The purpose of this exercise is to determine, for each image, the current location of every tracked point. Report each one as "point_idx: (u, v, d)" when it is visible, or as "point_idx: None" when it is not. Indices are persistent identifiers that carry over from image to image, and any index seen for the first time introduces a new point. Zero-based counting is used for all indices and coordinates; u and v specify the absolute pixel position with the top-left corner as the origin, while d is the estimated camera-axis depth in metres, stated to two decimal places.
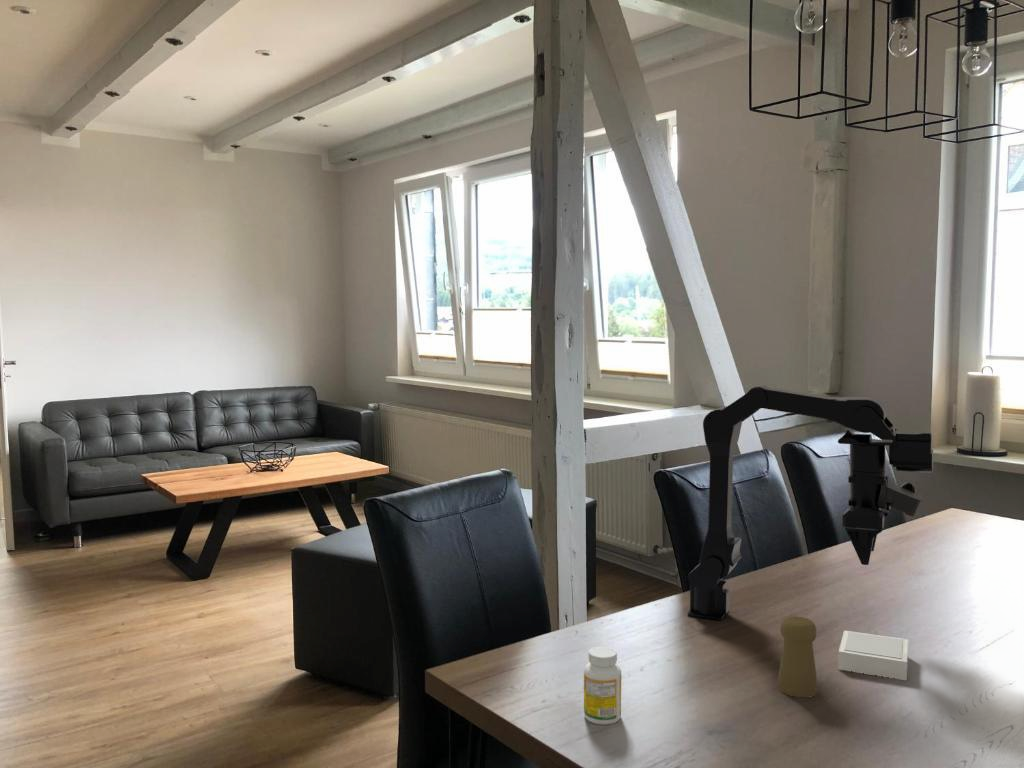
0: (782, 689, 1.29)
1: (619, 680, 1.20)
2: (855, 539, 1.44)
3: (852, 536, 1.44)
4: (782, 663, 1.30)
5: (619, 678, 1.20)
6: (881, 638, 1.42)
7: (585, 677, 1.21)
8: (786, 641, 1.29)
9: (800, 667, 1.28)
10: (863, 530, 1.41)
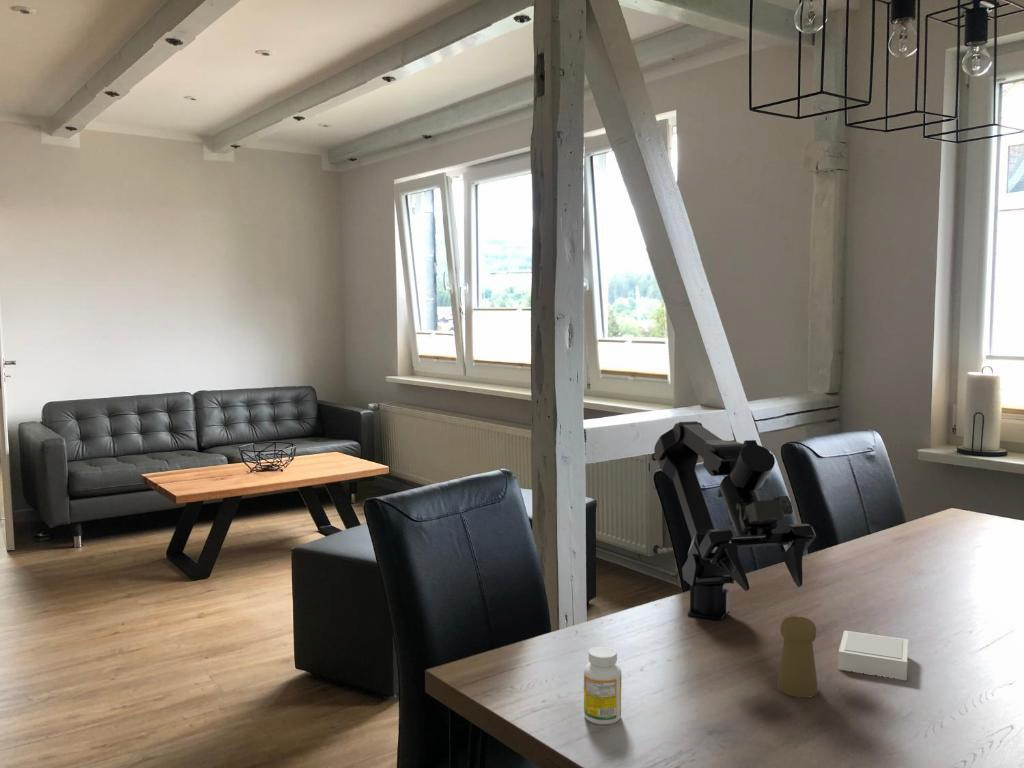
0: (782, 689, 1.29)
1: (619, 680, 1.20)
2: (727, 568, 1.40)
3: (724, 567, 1.40)
4: (782, 663, 1.30)
5: (619, 678, 1.20)
6: (881, 638, 1.42)
7: (585, 677, 1.21)
8: (786, 641, 1.29)
9: (800, 667, 1.28)
10: (715, 553, 1.40)
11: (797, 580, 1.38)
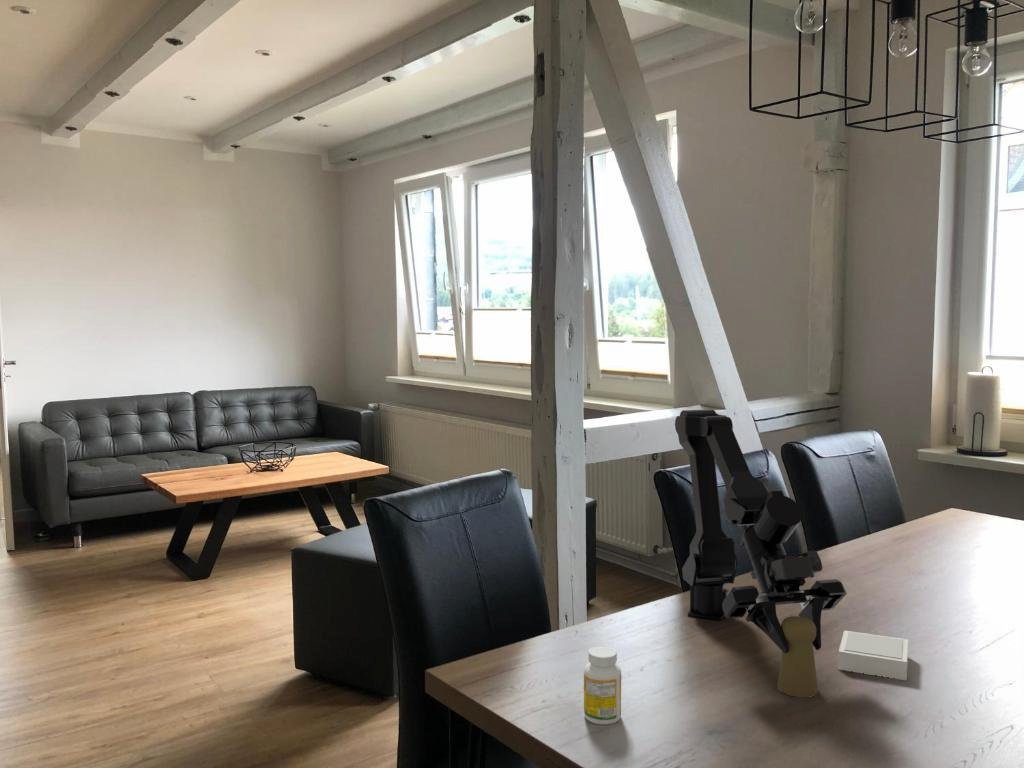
0: (782, 689, 1.29)
1: (619, 680, 1.20)
2: (764, 627, 1.32)
3: (760, 626, 1.32)
4: (782, 663, 1.30)
5: (619, 678, 1.20)
6: (881, 638, 1.42)
7: (585, 677, 1.21)
8: None
9: (800, 667, 1.28)
10: (751, 611, 1.31)
11: (815, 643, 1.29)
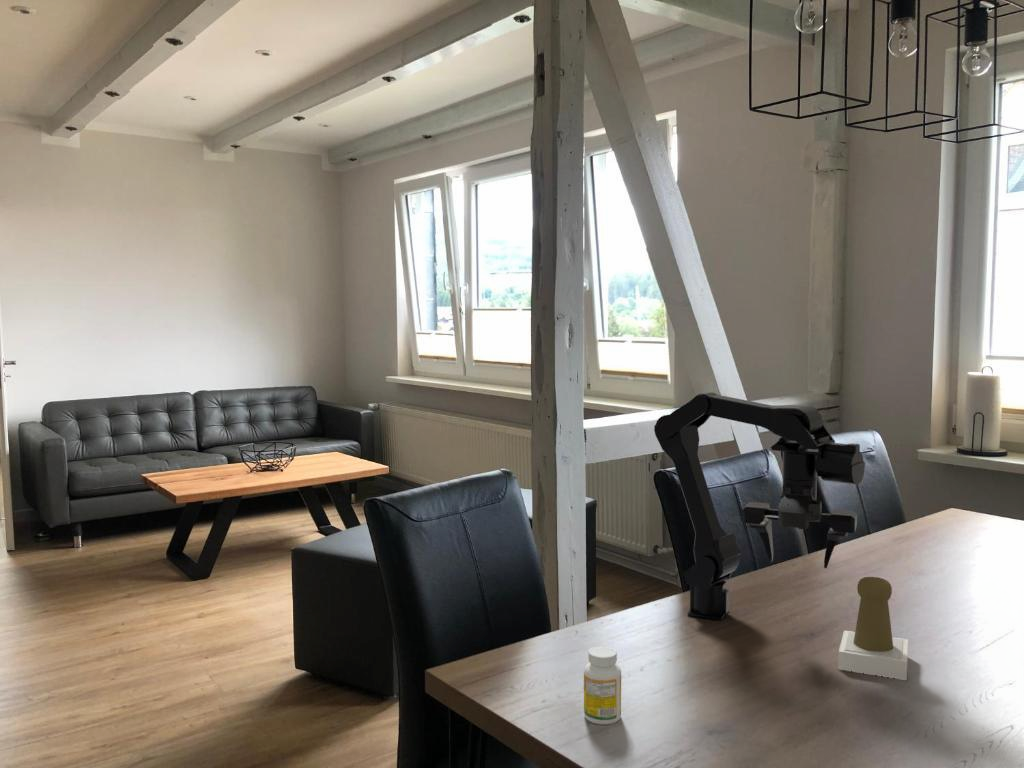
0: (869, 647, 1.37)
1: (619, 680, 1.20)
2: None
3: None
4: (865, 623, 1.37)
5: (619, 678, 1.20)
6: None
7: (585, 677, 1.21)
8: (870, 601, 1.37)
9: (885, 622, 1.37)
10: None
11: (824, 562, 1.48)
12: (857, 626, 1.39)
